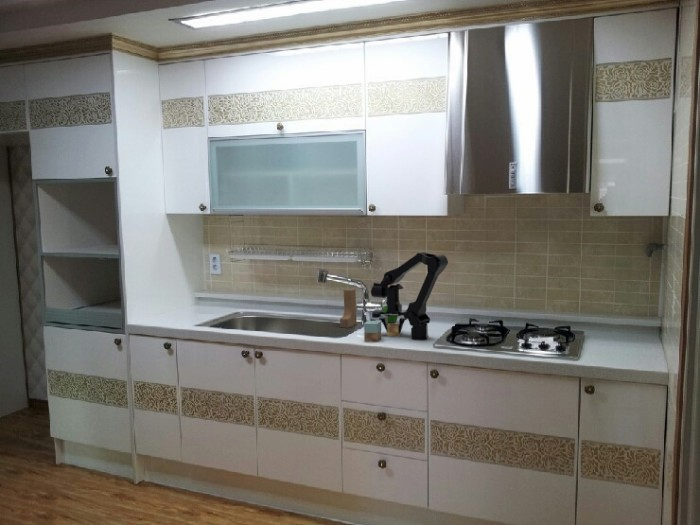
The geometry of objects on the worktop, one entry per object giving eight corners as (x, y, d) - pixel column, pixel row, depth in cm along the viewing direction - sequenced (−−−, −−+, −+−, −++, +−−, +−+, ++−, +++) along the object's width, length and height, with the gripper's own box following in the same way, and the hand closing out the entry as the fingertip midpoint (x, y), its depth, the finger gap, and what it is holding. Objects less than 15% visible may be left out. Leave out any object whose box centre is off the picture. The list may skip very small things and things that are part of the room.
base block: (381, 339, 275) (381, 330, 275) (377, 342, 269) (377, 333, 269) (368, 338, 277) (368, 329, 276) (364, 341, 271) (364, 332, 271)
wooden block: (347, 328, 301) (346, 291, 299) (339, 327, 303) (338, 291, 301) (357, 324, 308) (355, 288, 307) (349, 324, 311) (347, 288, 309)
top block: (381, 330, 274) (381, 321, 274) (377, 333, 269) (377, 323, 268) (368, 329, 276) (368, 320, 276) (364, 332, 271) (364, 323, 270)
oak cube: (400, 334, 283) (400, 323, 282) (398, 336, 278) (397, 325, 278) (390, 333, 284) (389, 323, 284) (387, 336, 280) (387, 325, 279)
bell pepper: (378, 322, 312) (377, 302, 311) (389, 319, 317) (389, 300, 316) (390, 324, 306) (389, 304, 305) (401, 321, 311) (401, 302, 310)
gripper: (416, 296, 285) (417, 329, 286) (377, 295, 290) (378, 328, 292) (411, 300, 274) (412, 334, 275) (371, 299, 280) (372, 333, 281)
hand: (394, 332), depth 281 cm, fingers open, 5 cm apart
